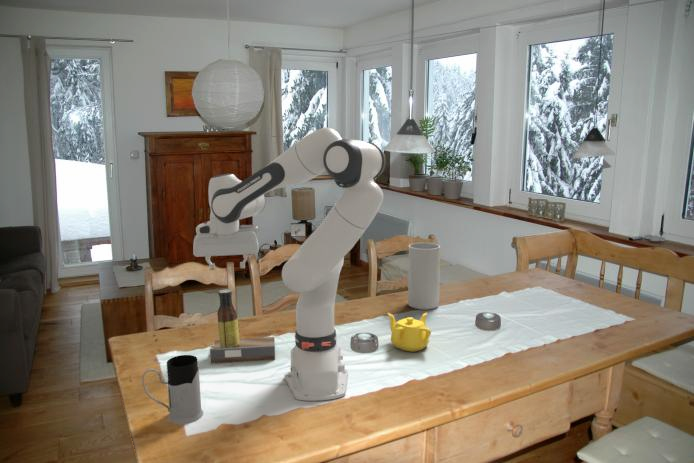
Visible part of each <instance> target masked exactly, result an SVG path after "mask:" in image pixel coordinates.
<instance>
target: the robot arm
mask: <svg viewBox="0 0 694 463" xmlns="http://www.w3.org/2000/svg"><path fill="white" fill-rule="evenodd" d="M386 165H387V159H386V154H385V153H384V151H383V149H381V147H380V146H378V145H377V144H374V143H373V142H369V141H364V140H361V139H347V138H342V136H341V135H340V133H339V132H338V131H336V130H335V129H334V128H332V127H328V126H327V127H326V126H325V127H321V128H319V129H317V130H315V131H313V132H310V133H309V134H307V135H305V136H304V137H301V139H299V140H298V141H297V142H295V143H294V144H292V145H291V146H290V147H288V148H287V149H286V150H285V151H284V152H282V153H281V154H280V155H278V156H277V157H276V158H275V159H273V160H272V161H270V162H269V163H267V165H265V166H264V167H262V168H261V169H259V170H257V171H256V172H254V173H252V174H251V175H250V176H248V177H247V178H246V179H244V180H240V179H239V178H238V177H237V176H236V175H235V174H233V173H224V174H219V175H218V174H217V175H214V176H212V177H211V178H210V180H209V183H208V204H209V208H210V214H209V220H208V221H205V222H203V223H202V222H201V223H199V224H198V225H197V226H196V227H195V233H196V235H195V236H194V238H193V245H192V246H193V247H192V249H193V250H192V251H193V253H192V254H193V256H194V257H196V258H198V257H199V258H201V257H204V258H205V261H206V262H207V264H208V265H209V270H210V271H215V270H216V269H215V268H216V264H215V262H212V261H211V257H220V256H238V255H239V256H241V255H242V256H243V257H242V258H243V260H242V261H240V262H239V268H240V269H246V262H247V261H248V258H249V255H256V254H258V252H259V251H260V248H259V240H258V238H259V236H260V229H259V228H258V226H255V225H254V224H240V220H243V219H246V218H250V217H254V216H257V215H259V214H260V213H262V212H263V211H264V209H265V207H266V197H265V194H267V193H269V192H271V191H274V190H277V189H282V188H287V187H293V186H298V185H301V184H303V183H306V182H309V181H310V180H311V181H312V180H313V179H315V178H316V177H318V176H319V175H321V174H322V173H324V172H325V171H326V172H327V174H328V175H329V176H330V177H331V178H332V179H333V181H334V182H335V185H337V187H338V188H341V189H343V191H342V193H341V195H340V196H339V198H338V199H337V200H336V202H335V203H334V204H333V206H332V207H331V209H330V210H329V212H328V213H327V214H326V216H325V217H324V219H323V220H322V222H321V223H320V224H319V226H318V227H317V228H316V229H315V230H314V231H313V232H312V233H311V234H310V235H309V236H308V237H307V238H306V239H305V241H304V242H303V243H302V244H301V245H300V247H298V249H297V250H295V251H296V252H294V253H293V255H291V257H290V258H289V259H288V260H287V261H286V262H285V263H284V265H283V267H282V269H281V278H282V281H283V283H284V285H285V286H286V288H288V289H289V290H290V291H292V292H294V293H298V294H299V293H300V295H299V297H298V300H297V303H296V306H295V314H296V316H295V318H296V330H295V332H294V339H295V341H294V342H295V345H294V346H293V348H292V349H291V350H290V371H288V372H285V374H284V377H283V378H284V380H285V381H286V384H287V385H288V387H289V389H290V391H291V393H292V395H293V397H294V398H295V399H296V400H298V401H306V402H307V401H308V402H309V401H310V402H313V401H314V402H315V401H316V402H317V401H318V402H319V401H328V400H334V399H339V398H343V397H344V396H346V392H347V386H348V379H349V378H348V376H349V370H348V369H346V368H345V367H346V366H345V364H344V363H342V360H344V356H343V354H342V352H341V349H342V348H341V346H339V344H337V332H336V328H335V302H336V296H337V292H338V285H339V280H340V273H341V271H342V268H343V266H344V261H345V258H344V257H346V255H347V254H348V253H349V252H350V251H351V250H352V249H353V248H354V247H355V245H356V244H357V242H358V241H359V240H360V239H361V237H362V236H363V235H364V233H365V231H366V230H367V229H368V227H369V226H370V225H371V224H372V222H373V220H374V219H375V217H376V215H377V214H378V212H379V210H380V208H381V206H382V204H383V201H384V192H383V190H382V188H381V186H379V184H378V183H376V182H375V180H374V179H376V178H378V177H379V176H380V175H381V174H382V173H384V170H385V168H386Z"/></svg>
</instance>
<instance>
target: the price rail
mask: <svg viewBox="0 0 694 463" xmlns="http://www.w3.org/2000/svg"><path fill="white" fill-rule="evenodd" d="M275 346H276V345H264V346H248V347H231V348H215V349H213V348H210V349H209V353H210V354H209V355H210V360H211V359H223V358H239V357H255V356H270V355H275V356H276V352H275V351H276V350H275V349H276V347H275Z"/></svg>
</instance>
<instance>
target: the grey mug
mask: <svg viewBox="0 0 694 463" xmlns="http://www.w3.org/2000/svg"><path fill="white" fill-rule="evenodd" d="M149 372H155V373H157V375H158V377H159V382H160V384H161V385H167V395H168V405H167V404H166V403H164V402H162V401H160V400H158V399H157V398H155V397H154V396H152V394H150V392H149V391H148V390H147V387H146V385H145V380H144V379H145V378H144V377H145V375H146V374H147V373H149ZM166 372H167V381H165V382H164V381H163V380H162V375H161V373H160V371H159V370H157V369H155V368H150V369H149V368H148V369H147V370H146V371H144V372H143V374H142V377H141V378H142V379H141V381H142V383H141V384H142V387H143V389H144V391H145V393H146V394H147V397H149V398H150V399H151V400H153V401H154V402H156V403H158V404H159V405H161V406H163V407H165V408H166V409H167V412H168V413H169V414H168V417H167V419H168V421H169V422H170V423H171V424H175V425H186V424H187V425H188V424H192V423H195V422H197V421H199V420H200V419H201V418H203V416H204V410H203V409H202V401H201V400H202V398H201V387H200V386H201V385H200V384H201V383H200V382H201V381H200V367H199V363H198V357H196V356H195V355H192V354H191V355H190V354H182V355H176V356H173V357H171V358H169V359H168V360H167V361H166Z"/></svg>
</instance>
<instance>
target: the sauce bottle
mask: <svg viewBox="0 0 694 463" xmlns="http://www.w3.org/2000/svg"><path fill="white" fill-rule="evenodd" d="M232 295H233V292H232V289H221V290H218V296H219V307H218V309H217V325H218V326H217V328H218V336H219V339H218V340H220V346H221V348H231V347H239V339H240V335H239V334H240V333H239V323H238V322H239V321H238V314H237V311H236V309H235V307H234V304H233V300H232Z"/></svg>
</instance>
